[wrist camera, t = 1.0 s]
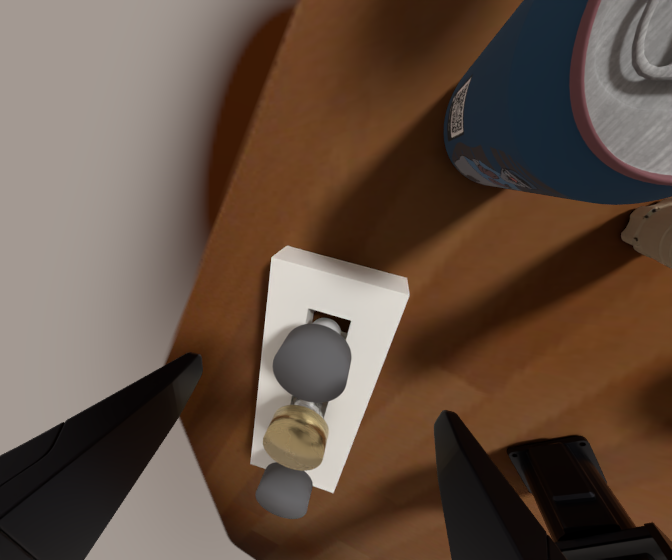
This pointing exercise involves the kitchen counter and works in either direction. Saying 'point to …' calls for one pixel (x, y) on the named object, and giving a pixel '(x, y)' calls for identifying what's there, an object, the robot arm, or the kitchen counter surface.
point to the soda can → (570, 103)
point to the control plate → (363, 335)
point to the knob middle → (297, 436)
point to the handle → (652, 231)
